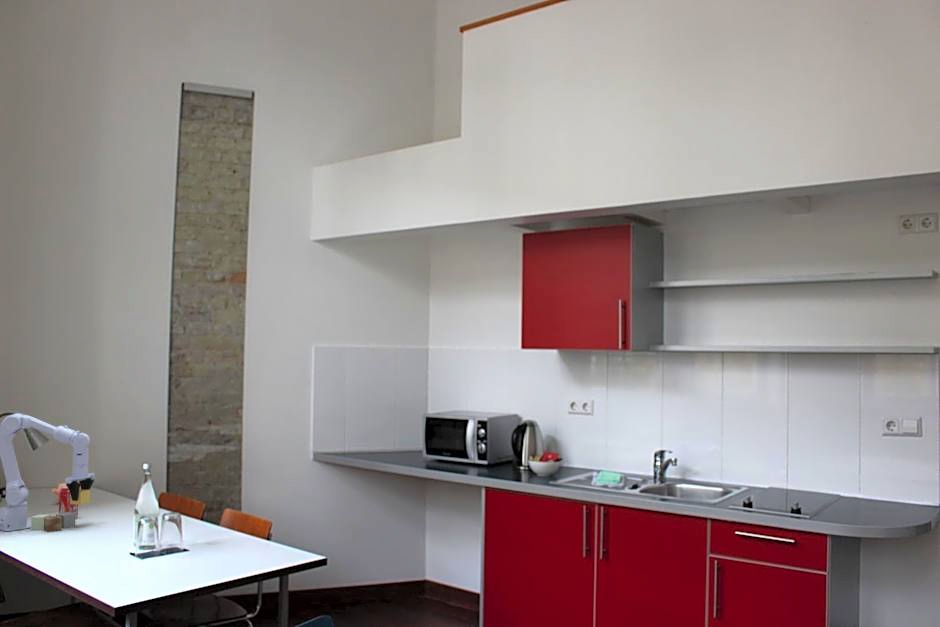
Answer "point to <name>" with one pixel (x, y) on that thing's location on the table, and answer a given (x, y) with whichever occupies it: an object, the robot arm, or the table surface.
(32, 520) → the pale green block
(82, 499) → the ochre block
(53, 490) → the teapot
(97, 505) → the table surface
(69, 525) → the slate block
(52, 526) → the walnut block
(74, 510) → the soda can
